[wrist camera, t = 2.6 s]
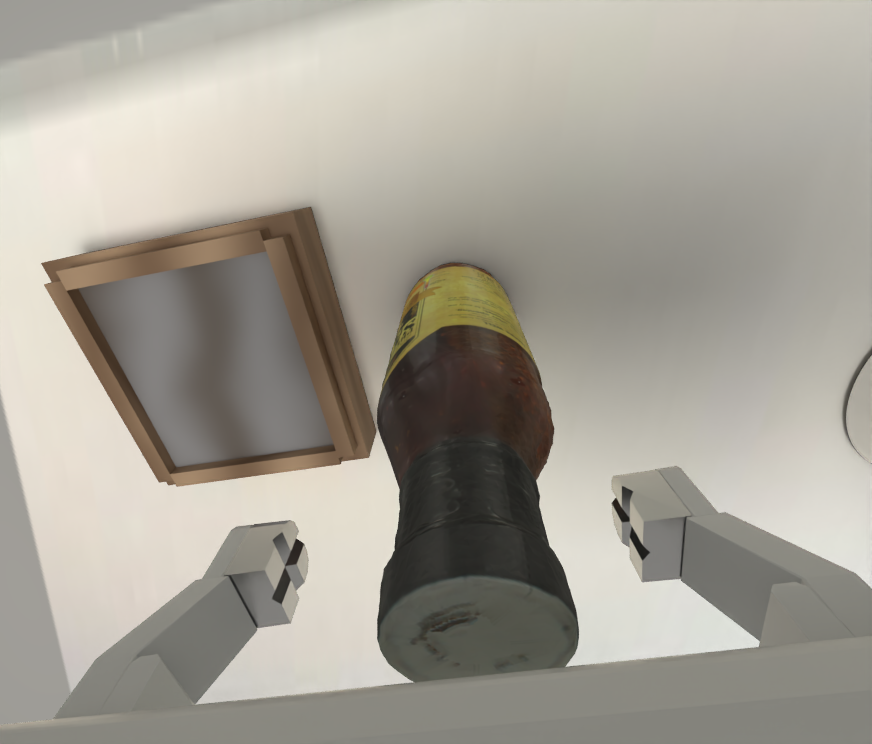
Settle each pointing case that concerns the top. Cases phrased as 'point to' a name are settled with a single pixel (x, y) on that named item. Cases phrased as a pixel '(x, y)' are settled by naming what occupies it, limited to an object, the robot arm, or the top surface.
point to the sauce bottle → (468, 490)
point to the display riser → (221, 348)
